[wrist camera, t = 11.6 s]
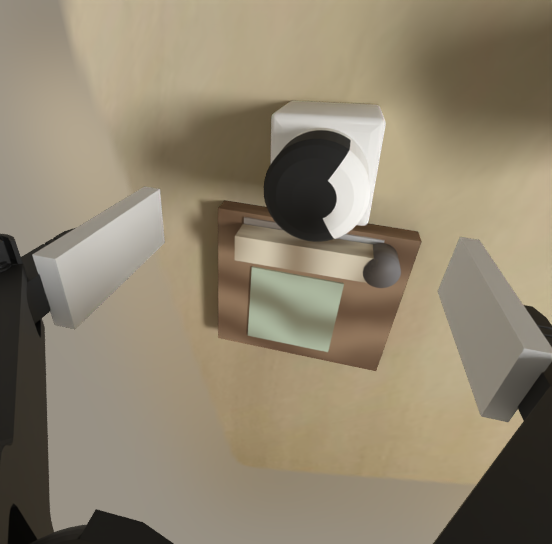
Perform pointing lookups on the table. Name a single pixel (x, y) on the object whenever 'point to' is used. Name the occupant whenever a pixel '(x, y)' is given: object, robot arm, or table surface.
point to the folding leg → (319, 256)
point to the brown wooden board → (307, 297)
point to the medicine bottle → (323, 167)
